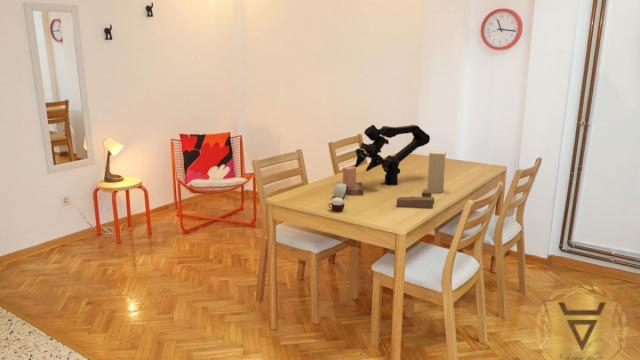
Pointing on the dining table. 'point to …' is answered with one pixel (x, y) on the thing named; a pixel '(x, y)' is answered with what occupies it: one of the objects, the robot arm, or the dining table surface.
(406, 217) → the dining table surface
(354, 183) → the terracotta block
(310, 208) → the dining table surface
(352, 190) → the walnut slab
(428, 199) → the wooden block set
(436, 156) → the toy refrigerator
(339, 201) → the cocoa
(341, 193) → the grey green canister
